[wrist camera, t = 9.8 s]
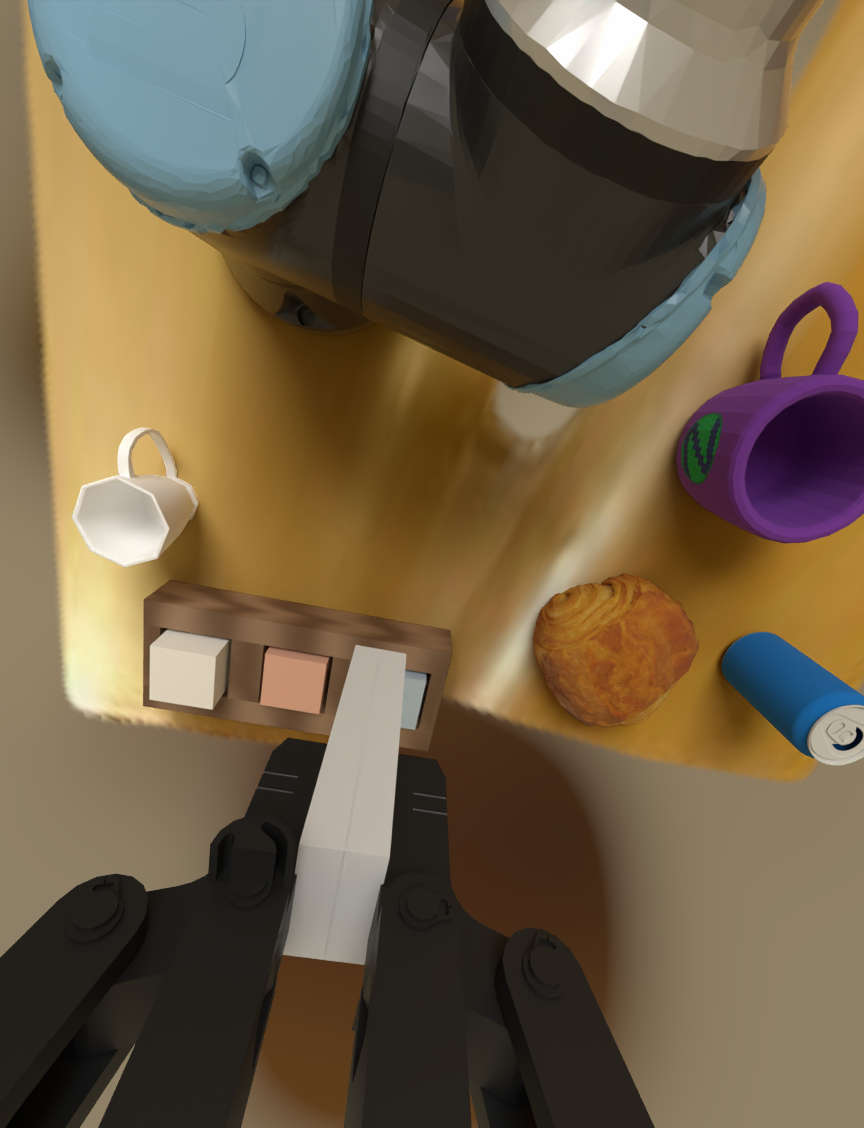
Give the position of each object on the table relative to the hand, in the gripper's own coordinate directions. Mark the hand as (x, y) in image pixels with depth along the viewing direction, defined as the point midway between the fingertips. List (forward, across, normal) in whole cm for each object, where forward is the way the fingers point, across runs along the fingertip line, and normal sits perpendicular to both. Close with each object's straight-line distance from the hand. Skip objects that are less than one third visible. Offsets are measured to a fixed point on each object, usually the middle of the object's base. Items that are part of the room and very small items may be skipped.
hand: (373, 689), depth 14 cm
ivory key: (+28, -16, -18) cm, 37 cm away
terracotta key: (+30, -7, -18) cm, 36 cm away
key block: (+30, -7, -18) cm, 36 cm away
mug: (+31, +26, +12) cm, 42 cm away
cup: (+31, -20, -4) cm, 37 cm away
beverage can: (+31, +37, -10) cm, 49 cm away
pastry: (+31, +22, -11) cm, 40 cm away
